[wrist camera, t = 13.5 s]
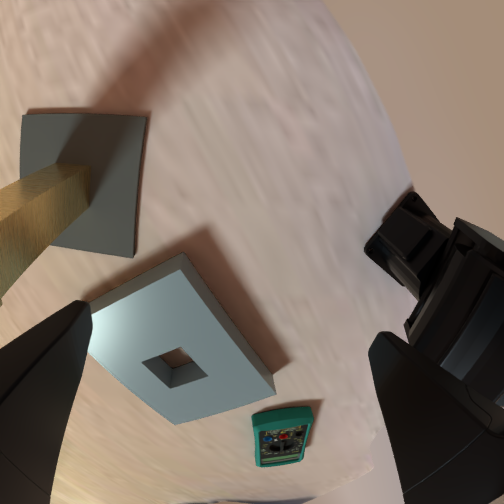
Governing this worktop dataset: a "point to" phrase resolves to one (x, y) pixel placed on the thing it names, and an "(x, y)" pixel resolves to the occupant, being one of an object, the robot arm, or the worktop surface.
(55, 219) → the brass key
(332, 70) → the worktop surface
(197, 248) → the worktop surface
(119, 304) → the block
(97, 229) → the rubber mat
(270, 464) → the digital multimeter
